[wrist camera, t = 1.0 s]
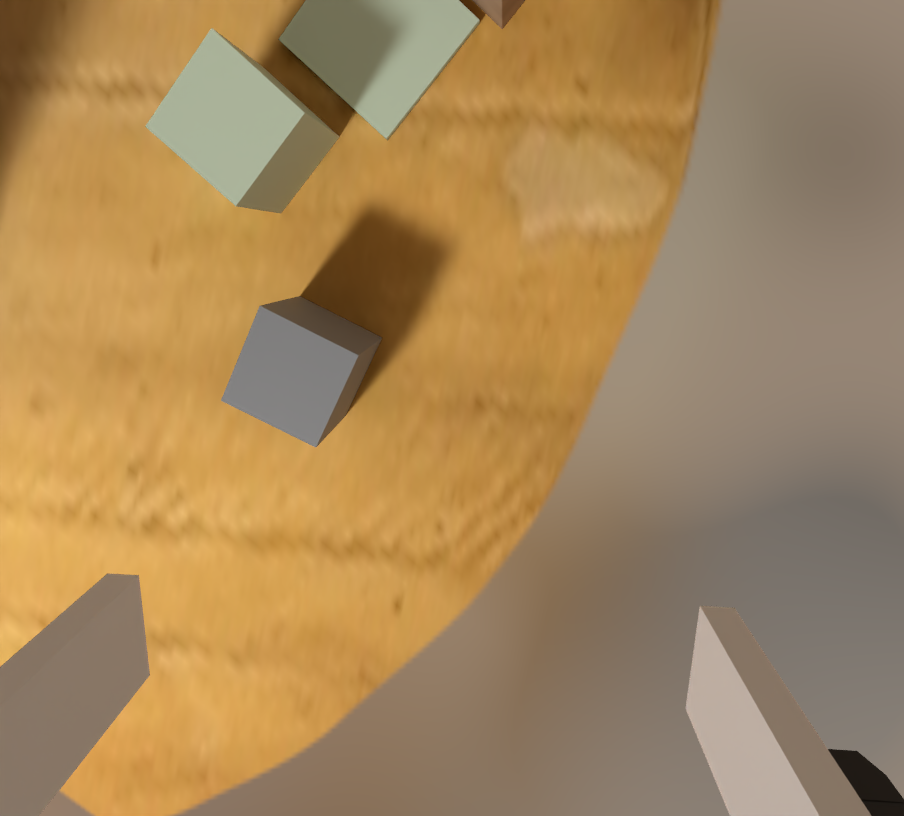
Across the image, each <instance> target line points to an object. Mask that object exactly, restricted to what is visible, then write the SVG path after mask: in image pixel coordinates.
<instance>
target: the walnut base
mask: <svg viewBox="0 0 904 816" xmlns="http://www.w3.org/2000/svg"><path fill="white" fill-rule="evenodd" d="M473 1H474V2H475V3H476V4H477V5H478V6H479V7H480V8H481V9H482V10H483V11H484V12H485V13H486V14H487V15H488V16H489V17H490V18H491V19H492V20H493V21H494V22H495V23H496V24H497V25H498V26H499V27H500V28H501V29H503V28H504V26H505V25H506V24H507V23H508V21H509V20H510V19H511V18H512V16H513V15H514V14H515V13H516V11H517V10H518V9H519V8H520V6H521V5H522V4H523V3H524V1H525V0H473Z"/></svg>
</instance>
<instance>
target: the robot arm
mask: <svg viewBox="0 0 904 816" xmlns="http://www.w3.org/2000/svg"><path fill="white" fill-rule="evenodd" d="M149 675H150V673H149V664H148V655H147V646H146V637H145V628H144V619H143V610H142V601H141V591H140V582H139V575H123V574H106V575H105V576H104V577H103V578H102V579H101V580H100V581H98V582H97V583H96V584H95V585H94V586H93V587H92V588H90V589H89V590H88V591H87V592H86V593H85V594H83V595H82V596H81V597H80V598H79V599H78V600H77V601H75V602H74V603H73V604H72V605H71V606H70V607H69V608H67V609H66V610H65V611H64V612H63V613H62V614H60V615H59V616H58V617H57V618H56V619H55V620H54V621H52V622H51V623H50V624H49V625H48V626H47V627H46V628H44V629H43V630H42V631H41V632H40V633H39V634H37V635H36V636H35V637H34V638H33V639H32V640H31V641H29V642H28V643H27V644H26V645H25V646H24V647H23V648H21V649H20V650H19V651H18V652H17V653H16V654H14V655H13V656H12V657H11V658H10V659H9V660H8V661H6V662H5V663H4V664H3V665H2V666H1V667H0V816H39V815H40V814H41V813H42V812H43V810H44V809H45V808H46V806H47V805H48V804H49V803H50V801H51V800H52V799H53V798H54V796H55V795H56V794H57V792H58V791H59V790H60V789H61V787H62V786H63V785H64V784H65V782H66V781H67V780H68V778H69V777H70V776H71V775H72V773H73V772H74V771H75V770H76V768H77V767H78V766H79V764H80V763H81V762H82V761H83V759H84V758H85V757H86V756H87V754H88V753H89V752H90V750H91V749H92V748H93V747H94V745H95V744H96V743H97V742H98V740H99V739H100V738H101V736H102V735H103V734H104V733H105V731H106V730H107V729H108V727H109V726H110V725H111V724H112V722H113V721H114V720H115V719H116V717H117V716H118V715H119V713H120V712H121V711H122V710H123V708H124V707H125V706H126V705H127V703H128V702H129V701H130V699H131V698H132V697H133V696H134V694H135V693H136V692H137V691H138V689H139V688H140V687H141V685H142V684H143V683H144V682H145V680H146V679H147V678H148V677H149ZM686 711H687V713H688V715H689V718H690V720H691V723H692V725H693V727H694V730H695V732H696V735H697V737H698V740H699V742H700V744H701V747H702V749H703V751H704V754H705V756H706V759H707V761H708V764H709V766H710V769H711V771H712V773H713V776H714V778H715V781H716V783H717V785H718V788H719V790H720V793H721V795H722V797H723V800H724V802H725V805H726V807H727V810H728V812H729V814H730V816H904V799H903V798H902V796H901V795H900V794H899V792H898V791H897V790H896V788H895V787H894V785H893V784H892V783H891V782H890V780H889V779H888V777H887V776H886V775H885V774H884V773H883V772H882V771H880V770H879V769H878V768H877V767H876V766H874V765H873V764H872V763H871V762H870V761H868V760H867V759H866V758H865V757H863V756H862V755H861V754H860V753H859V752H857V751H848V750H833V749H827V748H826V746H825V745H824V743H823V741H822V740H821V738H820V737H819V736H818V734H817V732H816V731H815V729H814V728H813V726H812V725H811V723H810V722H809V720H808V719H807V718H806V716H805V714H804V713H803V711H802V710H801V708H800V707H799V705H798V704H797V702H796V701H795V699H794V697H793V696H792V694H791V693H790V691H789V690H788V689H787V687H786V685H785V684H784V682H783V681H782V679H781V678H780V676H779V675H778V673H777V672H776V670H775V669H774V667H773V666H772V664H771V663H770V661H769V660H768V658H767V657H766V655H765V653H764V652H763V650H762V649H761V648H760V646H759V644H758V643H757V641H756V640H755V638H754V637H753V635H752V634H751V632H750V631H749V629H748V628H747V626H746V625H745V623H744V622H743V620H742V619H741V617H740V616H739V614H738V613H737V611H736V610H735V608H729V607H711V606H700V610H699V617H698V624H697V631H696V639H695V645H694V653H693V660H692V667H691V674H690V681H689V689H688V696H687V703H686Z"/></svg>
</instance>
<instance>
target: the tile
mask: <svg viewBox="0 0 904 816" xmlns="http://www.w3.org/2000/svg"><path fill="white" fill-rule="evenodd" d="M479 23H480V20H479V19H478V18H477V17H476V16H475V15H474V14H473V13H472V12H471V11H470V10H469V9H468V8H467V7H465V6H464V5H463V4H462V3H461V2H460V1H459V0H306V1H305V2H304V4H303V5H302V7H301V8H300V9H299V11H298V12H297V14H296V15H295V16H294V18H293V19H292V21H291V22H290V24H289V25H288V26H287V28H286V29H285V31H284V32H283V33H282V35H281V36H280V38H279V40H280V41H281V42H282V43H283V44H284V45H285V46H286V47H287V48H288V49H289V50H290V51H292V52H293V53H294V54H295V55H296V56H297V57H298V58H299V59H300V60H301V61H302V62H303V63H305V64H306V65H307V66H308V67H309V68H310V69H311V70H312V71H313V72H314V73H315V74H316V75H318V76H319V77H320V78H321V79H322V80H323V81H324V82H325V83H326V84H327V85H328V86H329V87H331V88H332V89H333V90H334V91H335V92H336V93H337V94H338V95H339V96H340V97H341V98H342V99H344V100H345V101H346V102H347V103H348V104H349V105H350V106H351V107H352V108H353V109H354V110H355V111H357V112H358V113H359V114H360V115H361V116H362V117H363V118H364V119H365V120H366V121H367V122H368V123H370V124H371V125H372V126H373V127H374V128H375V129H376V130H377V131H378V132H379V133H380V134H381V135H383V136H384V137H385V138H386V139H387V140H388V139H389V138H390V137H391V135H392V134H393V133H394V132H395V130H396V129H397V128H398V126H399V125H400V124H401V123H402V121H403V120H404V119H405V117H406V116H407V115H408V114H409V112H410V111H411V110H412V109H413V107H414V106H415V105H416V103H417V102H418V101H419V100H420V98H421V97H422V96H423V95H424V93H425V92H426V91H427V89H428V88H429V87H430V86H431V84H432V83H433V82H434V81H435V79H436V78H437V77H438V75H439V74H440V73H441V72H442V70H443V69H444V68H445V67H446V65H447V64H448V63H449V61H450V60H451V59H452V58H453V56H454V55H455V54H456V53H457V51H458V50H459V49H460V47H461V46H462V45H463V44H464V42H465V41H466V40H467V39H468V37H469V36H470V35H471V33H472V32H473V31H474V30H475V28H476V27H477V26H478V24H479Z"/></svg>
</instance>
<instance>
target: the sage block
mask: <svg viewBox="0 0 904 816" xmlns="http://www.w3.org/2000/svg"><path fill="white" fill-rule="evenodd" d="M145 127H146V128H148V129H149V130H150V131H151V132H152V133H153V134H154V135H156V136H157V137H158V138H159V139H160V140H161V141H162V142H164V143H165V144H166V145H167V146H168V147H169V148H170V149H171V150H173V151H174V152H175V153H176V154H177V155H178V156H179V157H181V158H182V159H183V160H184V161H185V162H186V163H187V164H189V165H190V166H191V167H192V168H193V169H194V170H195V171H196V172H198V173H199V174H200V175H201V176H202V177H203V178H204V179H206V180H207V181H208V182H209V183H210V184H211V185H212V186H213V187H215V188H216V189H217V190H218V191H219V192H220V193H221V194H223V195H224V196H225V197H226V198H227V199H228V200H229V201H231V202H232V203H233V204H234V205H235V206H238V207H244V208H250V209H257V210H263V211H269V212H275V213H282V212H283V210H284V209H285V208H286V206H287V205H288V204H289V203H290V201H291V200H292V199H293V197H294V196H295V195H296V193H297V192H298V191H299V189H300V188H301V187H302V185H303V184H304V183H305V182H306V180H307V179H308V178H309V176H310V175H311V174H312V172H313V171H314V170H315V168H316V167H317V166H318V164H319V163H320V162H321V161H322V159H323V158H324V157H325V155H326V154H327V153H328V151H329V150H330V149H331V147H332V146H333V145H334V143H335V142H336V141H337V140H338V138H339V136H338V135H337V134H336V133H335V132H334V131H333V130H332V129H330V128H329V127H328V126H327V125H326V124H325V123H324V122H323V121H322V120H321V119H320V118H318V117H317V116H316V115H315V114H314V113H313V112H312V111H311V110H310V109H309V108H308V107H306V106H305V105H304V104H303V103H302V102H301V101H300V100H299V99H298V98H297V97H295V96H294V95H293V94H292V93H291V92H290V91H289V90H288V89H287V88H286V87H285V86H283V85H282V84H281V83H280V82H279V81H278V80H277V79H276V78H275V77H274V76H272V75H271V74H270V73H269V72H268V71H267V70H266V69H265V68H264V67H262V66H261V65H260V64H259V63H257V62H256V61H255V60H253V59H252V58H251V57H249V56H248V55H247V54H245V53H244V52H243V51H241V50H240V49H239V48H237V47H236V46H235V45H233V44H232V43H231V42H230V41H228V40H227V39H226V38H224V37H223V36H222V35H220V34H219V33H218V32H216V31H215V30H214V29H212V28H211V30H210V31H209V33H208V34H207V36H206V37H205V39H204V40H203V42H202V43H201V45H200V46H199V48H198V49H197V51H196V52H195V53H194V55H193V56H192V58H191V59H190V61H189V62H188V64H187V65H186V67H185V68H184V70H183V71H182V73H181V74H180V76H179V77H178V79H177V80H176V82H175V83H174V85H173V86H172V88H171V89H170V91H169V92H168V94H167V95H166V97H165V98H164V99H163V101H162V102H161V104H160V105H159V107H158V108H157V110H156V111H155V113H154V114H153V116H152V117H151V119H150V120H149V122H148V123H147V125H146V126H145Z"/></svg>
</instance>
